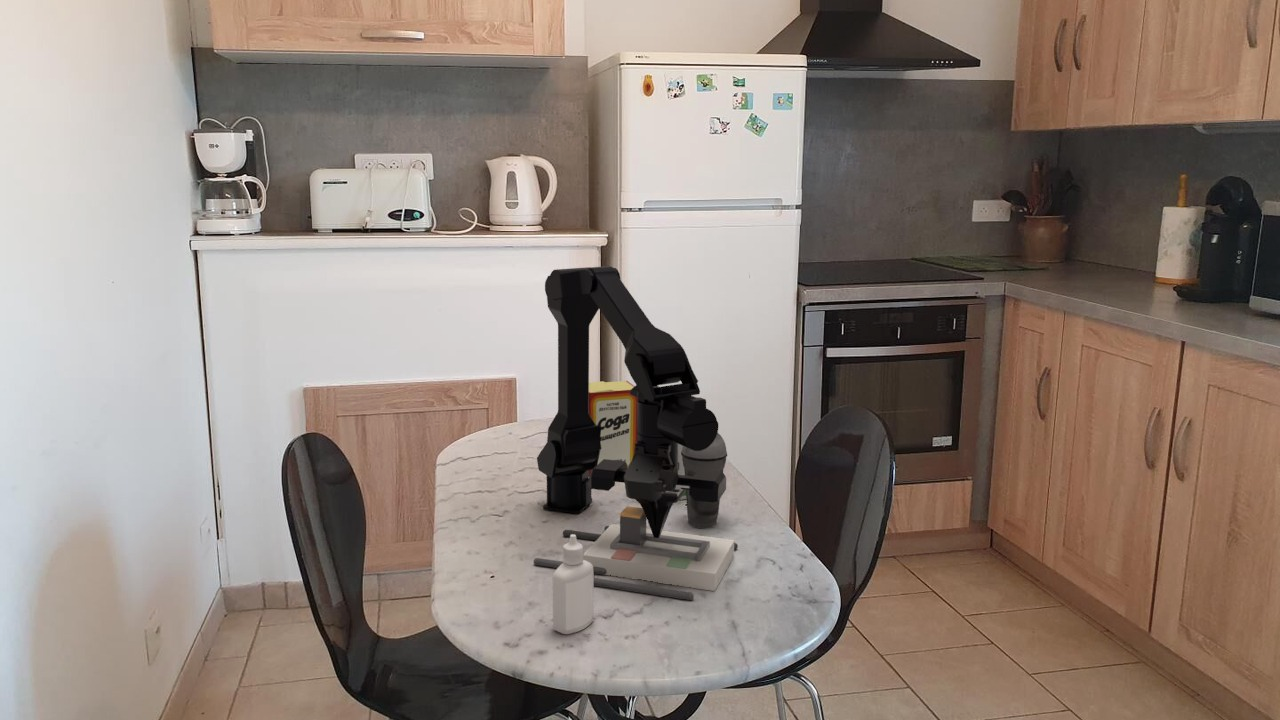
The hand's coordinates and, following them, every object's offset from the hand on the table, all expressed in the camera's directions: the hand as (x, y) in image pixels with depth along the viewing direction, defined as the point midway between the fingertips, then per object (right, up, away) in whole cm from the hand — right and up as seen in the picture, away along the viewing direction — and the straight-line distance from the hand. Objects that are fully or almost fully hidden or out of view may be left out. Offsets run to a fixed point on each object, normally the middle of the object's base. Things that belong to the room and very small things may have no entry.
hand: (657, 537), depth 139 cm
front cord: (-6, -5, -5) cm, 10 cm away
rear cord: (-1, -2, +8) cm, 8 cm away
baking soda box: (-8, +5, +41) cm, 42 cm away
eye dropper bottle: (-11, -8, -17) cm, 22 cm away
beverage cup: (+8, -1, +16) cm, 18 cm away
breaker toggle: (-3, -1, +1) cm, 4 cm away
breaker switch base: (0, -4, +1) cm, 4 cm away
